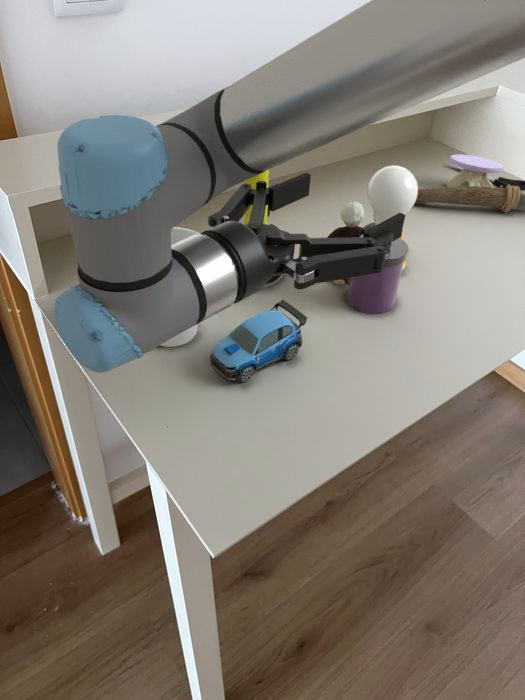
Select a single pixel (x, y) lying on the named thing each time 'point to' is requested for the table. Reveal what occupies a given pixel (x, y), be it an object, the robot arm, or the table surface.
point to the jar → (379, 282)
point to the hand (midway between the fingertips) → (351, 203)
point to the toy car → (258, 343)
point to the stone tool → (475, 196)
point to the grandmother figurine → (349, 226)
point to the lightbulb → (391, 192)
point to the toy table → (473, 170)
